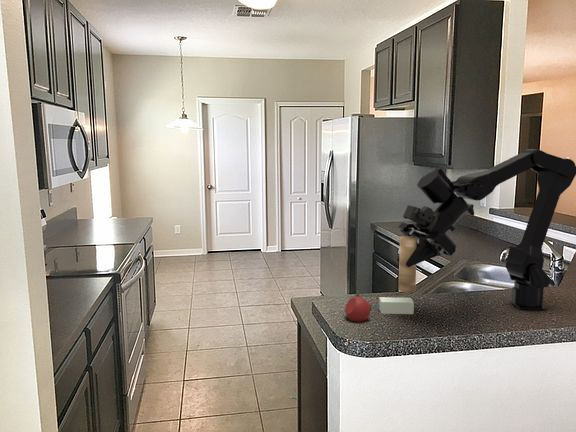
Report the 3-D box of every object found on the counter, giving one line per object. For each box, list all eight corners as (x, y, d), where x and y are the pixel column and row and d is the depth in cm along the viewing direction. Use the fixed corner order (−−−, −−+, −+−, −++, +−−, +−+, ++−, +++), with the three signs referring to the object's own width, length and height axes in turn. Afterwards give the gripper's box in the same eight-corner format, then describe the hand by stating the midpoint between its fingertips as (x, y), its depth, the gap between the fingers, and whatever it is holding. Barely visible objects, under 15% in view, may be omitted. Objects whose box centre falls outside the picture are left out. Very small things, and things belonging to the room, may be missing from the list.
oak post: (414, 288, 120) (416, 236, 119) (415, 292, 117) (417, 239, 115) (398, 287, 121) (399, 235, 120) (398, 291, 117) (400, 238, 116)
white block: (410, 309, 126) (410, 297, 126) (413, 314, 122) (413, 302, 122) (379, 308, 127) (379, 297, 126) (381, 313, 123) (381, 302, 122)
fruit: (368, 330, 117) (384, 301, 117) (348, 321, 115) (365, 291, 115) (358, 322, 123) (373, 294, 123) (339, 312, 121) (355, 284, 121)
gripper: (405, 190, 126) (365, 235, 125) (446, 197, 108) (399, 249, 107) (432, 219, 129) (392, 263, 128) (476, 231, 111) (430, 282, 110)
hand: (402, 263), depth 118 cm, fingers closed on oak post, 4 cm apart
